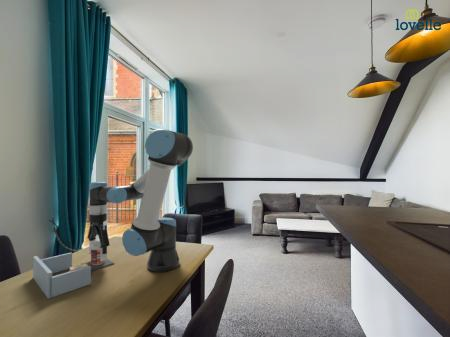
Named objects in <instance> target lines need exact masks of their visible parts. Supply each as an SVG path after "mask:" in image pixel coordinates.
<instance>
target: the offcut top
mask: <svg viewBox="0 0 450 337" xmlns="http://www.w3.org/2000/svg"><path fill="white" fill-rule="evenodd" d="M81 264H82V263H81ZM81 264H79V265H74V266H73V265H72V267H69V269H68V270H69V271H68V272H70V271H74V270H77V269H81V268H84V267H88V265H87V264H82V265H81Z"/></svg>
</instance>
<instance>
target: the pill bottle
mask: <svg viewBox="0 0 450 337" xmlns="http://www.w3.org/2000/svg"><path fill="white" fill-rule="evenodd" d="M92 245H93V246H92V247H91V254H90V261H91V265H101V264H103V263H105V261H100V246H101V243H100V240H99V238H96V239H95V240H93V241H92Z"/></svg>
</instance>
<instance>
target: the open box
mask: <svg viewBox="0 0 450 337" xmlns="http://www.w3.org/2000/svg"><path fill="white" fill-rule="evenodd" d="M32 264H33V265H32V267H33V268H32V278H33V280H34V281H35V283H36V284H37V285H38V287H39V289H40V290H41V291H42V293H44V295H45V297H46V298H47V299H51V298H54V297H56V296H60V295H62V294H66V293H69V292H71V291H74V290H78V289H81V288H83V287H85V286H89V285H91V282H92V281H91V280H92V277H91V275H92V274H91V272H92V271H91V266H88V267H84V268H81V269H77V270H74V271H70V272H69V271H68V272H64V271H66V270H69V267H73V252H68V253H63V254H58V255H56V256H50V257H46V258H42V259H41V258H39V256H38V255H34V256H33V259H32ZM59 272H64V273H60V274H56V275H53V274H55V273H59Z"/></svg>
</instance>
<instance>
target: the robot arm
mask: <svg viewBox="0 0 450 337" xmlns="http://www.w3.org/2000/svg"><path fill="white" fill-rule="evenodd" d="M144 149H145V153H146V154H147V155H148V157H147V160H148V161H149V164H150V166H149V168H148V169H147V170H146V171H145V172H144V173H143V174H141V176H139V177H138V178H137V179H136V180H135V181H134V182H133V183H132V184H130V185H129V184H128V185H121V186H120V185H118V186H108V182H106V181H92V182H90V183H89V195H88V196H89V206H88V207H89V209H88V211H89V215H88V216H89V217H88V219H89V220H88V221H89V229H88V233H87V239H88V241H89V245H88V247H89V248H88V250H89V252H88V254H89V255H91V247H92V246H93V245H92V241H93V240H95V239H97V238H96V237H97V236H98V239H99V240H100V243H101V246H100V261H105V260H107V259H108V247H109V246H110V239H109V235H108V234H109V233H108V228H107V225H106V224H104V222H106V221H108V214H107V211H108V210H107V209H108V203H109V204H121V203H123V202H128V201H133V200H137V201H138V200H140V199H141V201H140V205H139V209H138V213H137V217H135V218H133V220H132V222H131V225H130V228H128V229H126V230H125V231H124V232H123V233H122V236H121V237H122V239H121V240H122V245H123V247H124V250H125V251H126V253H128V254H129V255H130V256H133V257H139V256H141V255H142V256H143V255H145V254H146V253H149V252H150V253H149V256H148V259H147V261H146V264H147V265H146V268H147V270H149V271H150V272H154V273H155V272H156V273H162V272H163V273H164V272H168V271H173V270H176V269H177V268H178V267H179V266H180V257H179V254H178V250H177V238H176V237H177V220H176V219H175V218H172V217H164V216H163V217H161V216H160V215H161V214H160V213H161V210H162V206H163V202H164V199H165V195H166V191H167V187H168V183H169V180H170V177H171V176H170V175H171V171H172V170H173V169H174V168H176V167H177V166H178V167H180V166H182V165H183V164H184V163H185V162H187V160H188V159H190V157H191V156H192V154H193V150H194V145H193V142H192V139H191V138H190V136H188V135H186V134H185V133H180V132H177V131H174V130H170V129H164V128H163V129H162V128H159V129H157V128H156V129H155V130H153V131H152V132H150V133H149V134H148V136H147V137H146V140H145V144H144Z"/></svg>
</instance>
